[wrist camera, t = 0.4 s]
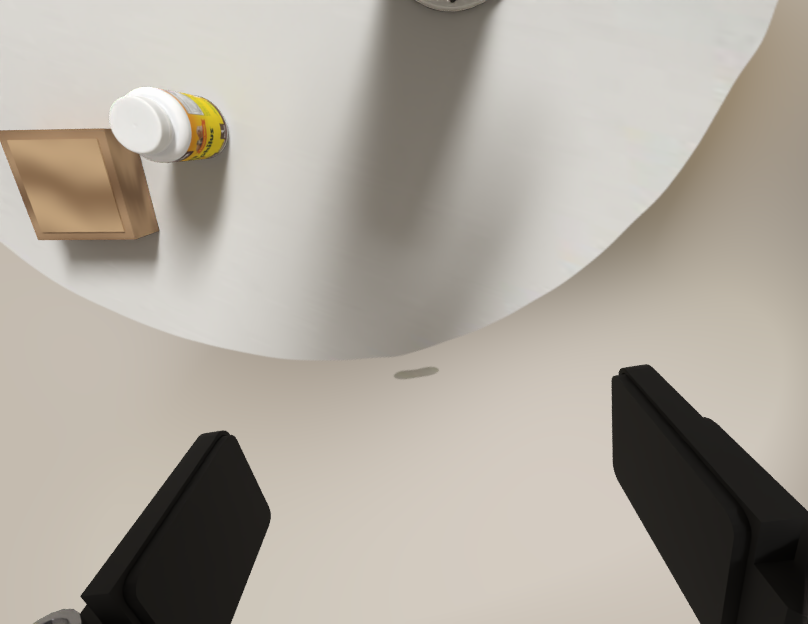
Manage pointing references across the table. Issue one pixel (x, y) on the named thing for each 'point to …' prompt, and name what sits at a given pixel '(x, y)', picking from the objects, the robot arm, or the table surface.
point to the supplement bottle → (168, 125)
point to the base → (80, 184)
